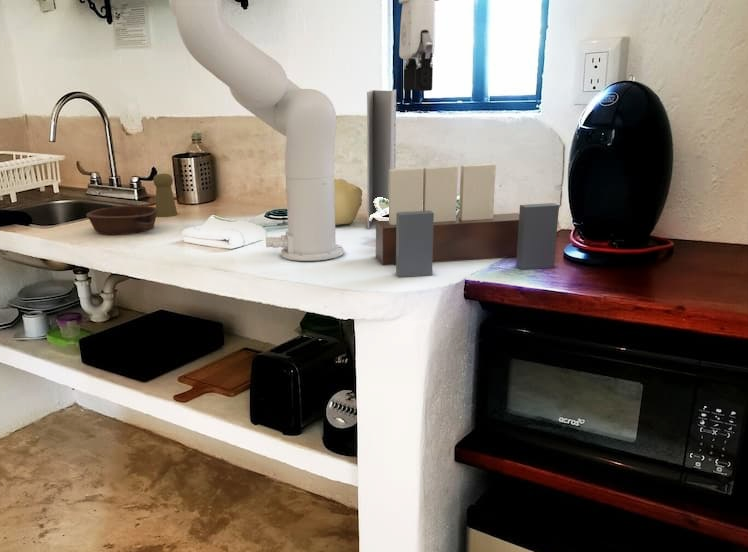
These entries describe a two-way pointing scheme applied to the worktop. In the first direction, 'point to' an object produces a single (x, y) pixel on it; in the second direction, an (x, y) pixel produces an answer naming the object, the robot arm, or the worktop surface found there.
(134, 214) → the dish
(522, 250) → the grey rectangular block
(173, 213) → the olive pawn piece
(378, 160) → the tall grey panel
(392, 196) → the cream book
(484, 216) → the cream book
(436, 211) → the cream book
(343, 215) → the sculpture
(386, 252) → the book shelf
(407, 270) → the grey book left
